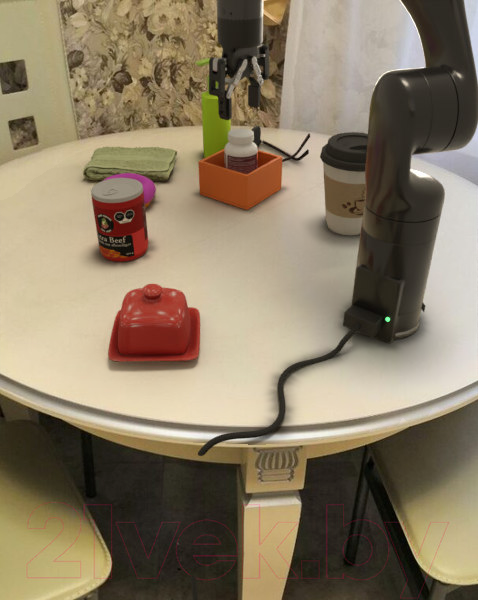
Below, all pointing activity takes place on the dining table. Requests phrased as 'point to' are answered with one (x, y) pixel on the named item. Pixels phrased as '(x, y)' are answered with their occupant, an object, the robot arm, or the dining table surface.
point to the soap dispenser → (212, 121)
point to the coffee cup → (345, 181)
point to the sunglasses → (258, 141)
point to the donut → (147, 184)
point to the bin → (240, 180)
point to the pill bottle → (241, 151)
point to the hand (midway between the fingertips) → (240, 112)
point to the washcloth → (131, 162)
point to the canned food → (120, 218)
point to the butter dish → (155, 327)
